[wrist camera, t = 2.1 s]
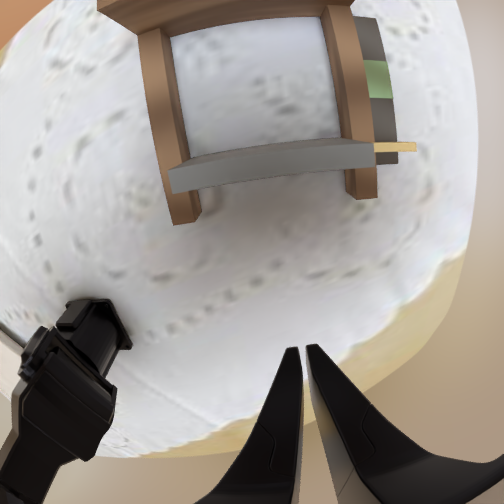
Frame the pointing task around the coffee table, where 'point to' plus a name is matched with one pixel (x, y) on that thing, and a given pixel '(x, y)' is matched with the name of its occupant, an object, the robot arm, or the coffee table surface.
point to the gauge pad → (278, 161)
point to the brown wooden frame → (246, 9)
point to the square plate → (9, 363)
